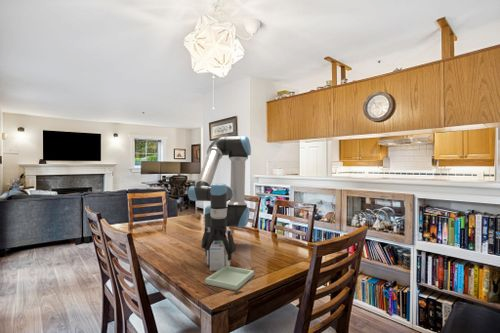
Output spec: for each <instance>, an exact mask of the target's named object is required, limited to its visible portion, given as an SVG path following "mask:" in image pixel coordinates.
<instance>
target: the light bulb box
mask: <svg viewBox="0 0 500 333" xmlns="http://www.w3.org/2000/svg"><path fill="white" fill-rule="evenodd" d="M224 266H226V249H225V246H224V244H223V242H222V241H213V242H212V244H211V246H210V264H209V271H210V272H211V271H215V272H217V271H218V270H220V269H221V268H223V267H224Z"/></svg>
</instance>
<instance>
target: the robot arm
mask: <svg viewBox="0 0 500 333" xmlns="http://www.w3.org/2000/svg"><path fill="white" fill-rule="evenodd" d="M251 148H252V146H251V142H250V139H249V137H248V136H245V135H234V136H233V135H223V136H220V137H217V138H216V139H215V140H213V142H211V143H210V144H209V146H208V148H207V150H206V158H205V159H204V160H205V161H204V163H203V165H202V168H201V170H200V173H199V176H198V179H197V181H196V184H195V185H190V186H189V188H188V190H187V196H188V198H189V200H190V201H192V202H194V201H195V202H210V205H207V206H206V207H205V208H204V232H203V235H202V238H201V248H202V249H204V251H205V257H206V265H207V266H208V265H210V246H211V244H212V242H213V241H222V242H223V244H224V246H225V266H231V261H232V259H233V258H232V257H233V255H232V254H233V253H234V252H236V245H235V242H234V236H233V229H228V227H229V228H245V227H247V225H248V223H249V220H250V213H251V211H250V207H248V204H247V203H246V201H245V200H246V199H245V195H246V194H245V193H246V192H245V191H246V190H245V188H246V161H247V160H248V158H249V156H251V154H252V149H251ZM223 156H228V159H229V161H230V184H229V186H228V185H227V184H225V183H212V182H213V180H214V176H215V174H216V171H217V168H218V165H219V163H220V160H221V159H222V158H223Z"/></svg>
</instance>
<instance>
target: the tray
mask: <svg viewBox="0 0 500 333" xmlns="http://www.w3.org/2000/svg"><path fill="white" fill-rule="evenodd" d="M254 276H255V270H254V269H253V270H251V269H247V268H241V267H236V266H235V267H234V266H231V265H230V266H226V265H225V266H224V267H223V268H221V269H220V270H218V271H215V272H214V273H212V274H210V275H209V276H207V277H206V278H205V281H204V282H205V283H204V284H205V285H210V286H212V287H213V286H214V287H218V288H222V289H227V290H231V291H234V292H235V291H236V292H237V291H238V290H239V289H240V288H242V286H244V285H245V284H246V283H247V282H248V281H249V280H250V279H252V278H253V277H254Z"/></svg>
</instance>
